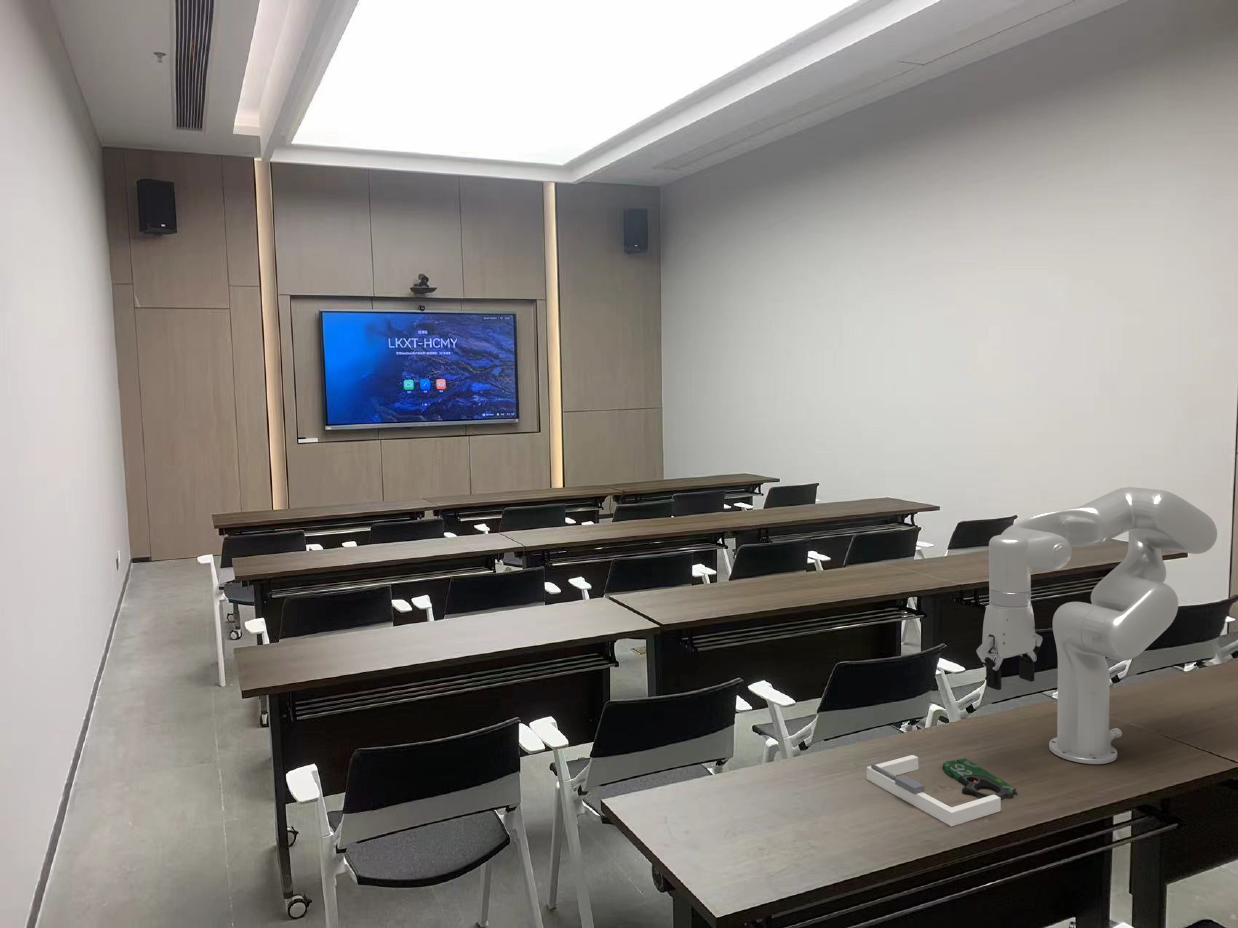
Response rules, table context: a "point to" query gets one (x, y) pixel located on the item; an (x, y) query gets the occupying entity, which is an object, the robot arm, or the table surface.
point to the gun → (977, 779)
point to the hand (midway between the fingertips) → (1010, 683)
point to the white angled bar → (914, 794)
